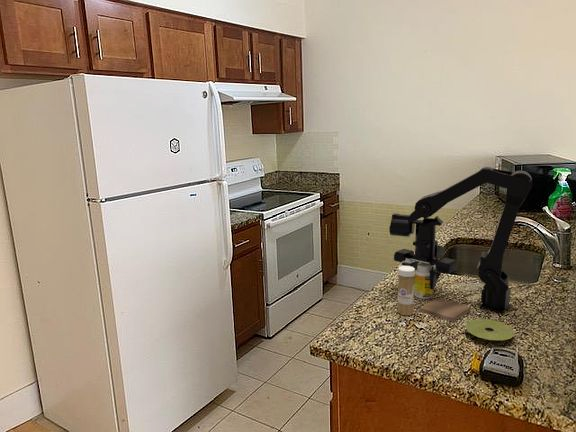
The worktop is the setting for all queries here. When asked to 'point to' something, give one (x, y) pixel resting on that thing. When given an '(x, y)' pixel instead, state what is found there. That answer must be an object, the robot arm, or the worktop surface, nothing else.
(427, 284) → the supplement bottle
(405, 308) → the sprinkles bottle
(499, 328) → the yellow-green flat disc
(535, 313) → the worktop surface
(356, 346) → the worktop surface
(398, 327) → the worktop surface
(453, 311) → the walnut board
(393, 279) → the worktop surface
